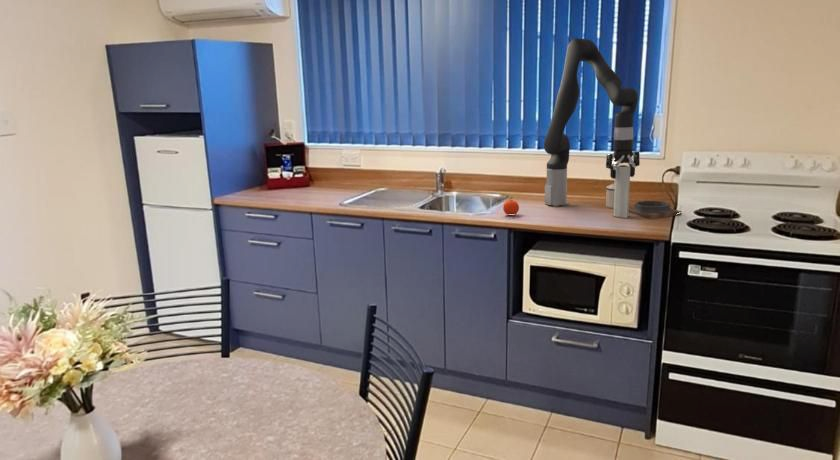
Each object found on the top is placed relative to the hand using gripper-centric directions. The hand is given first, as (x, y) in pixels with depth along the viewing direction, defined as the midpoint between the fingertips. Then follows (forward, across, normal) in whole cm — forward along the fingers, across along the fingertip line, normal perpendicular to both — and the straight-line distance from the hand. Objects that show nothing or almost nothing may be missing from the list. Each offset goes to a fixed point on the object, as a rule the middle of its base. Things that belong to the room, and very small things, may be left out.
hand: (622, 177), depth 243 cm
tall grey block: (+17, 0, 0) cm, 17 cm away
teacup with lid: (+17, -10, -19) cm, 27 cm away
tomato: (+16, +40, -23) cm, 49 cm away
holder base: (+17, -15, 0) cm, 22 cm away
